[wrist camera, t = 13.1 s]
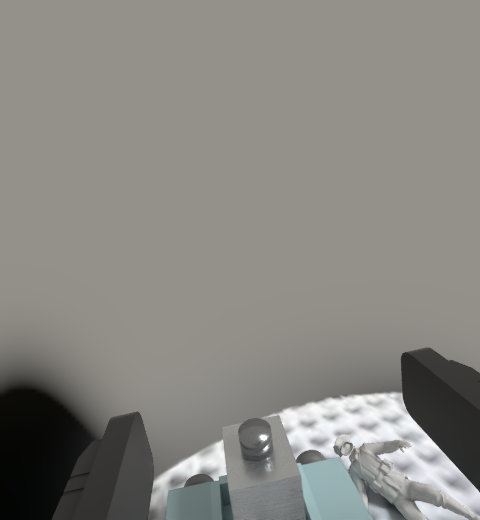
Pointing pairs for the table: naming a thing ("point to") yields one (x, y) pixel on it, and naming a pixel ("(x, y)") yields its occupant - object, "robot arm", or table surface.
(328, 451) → the table surface
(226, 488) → the chassis
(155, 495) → the table surface
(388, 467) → the soldier figure
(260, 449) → the knobbed metal block
